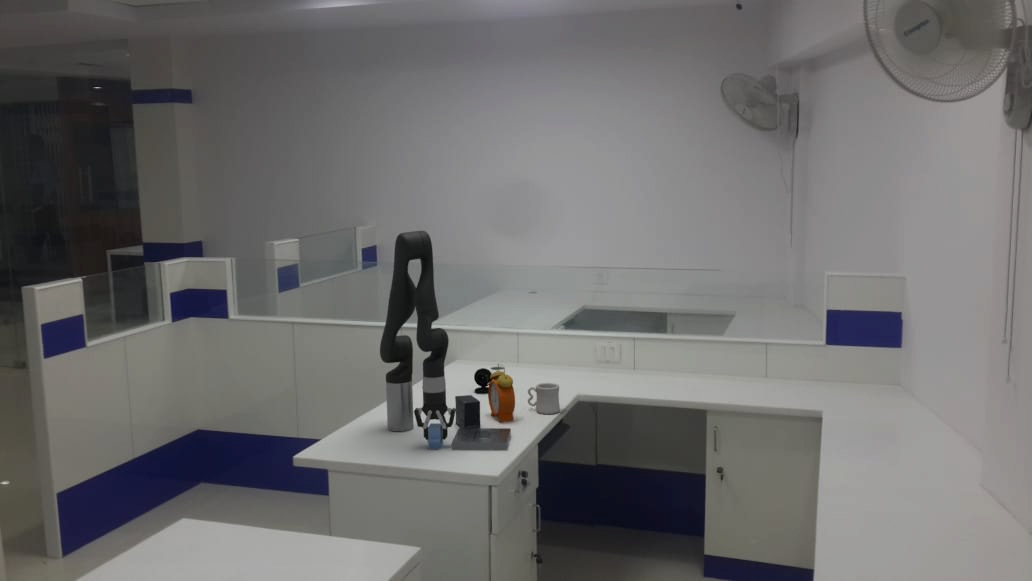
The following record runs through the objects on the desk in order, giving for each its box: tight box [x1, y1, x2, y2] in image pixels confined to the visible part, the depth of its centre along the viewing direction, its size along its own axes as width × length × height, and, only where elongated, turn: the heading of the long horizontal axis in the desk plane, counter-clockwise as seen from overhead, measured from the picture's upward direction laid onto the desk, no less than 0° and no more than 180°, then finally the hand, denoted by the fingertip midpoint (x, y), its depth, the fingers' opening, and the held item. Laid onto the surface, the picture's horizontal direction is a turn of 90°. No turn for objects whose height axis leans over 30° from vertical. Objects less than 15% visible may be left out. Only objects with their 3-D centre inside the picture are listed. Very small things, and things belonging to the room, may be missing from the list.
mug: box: [527, 382, 561, 415], centre depth 326 cm, size 12×9×10 cm
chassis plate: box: [451, 427, 512, 451], centre depth 289 cm, size 16×18×2 cm
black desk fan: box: [473, 367, 493, 395], centre depth 356 cm, size 8×8×10 cm
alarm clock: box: [487, 363, 516, 424], centre depth 316 cm, size 13×6×20 cm, turn 21°
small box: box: [455, 394, 481, 428], centre depth 307 cm, size 11×6×10 cm, turn 22°
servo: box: [426, 422, 444, 449], centre depth 286 cm, size 9×4×7 cm, turn 176°
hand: (435, 438), depth 286 cm, fingers open, 5 cm apart
